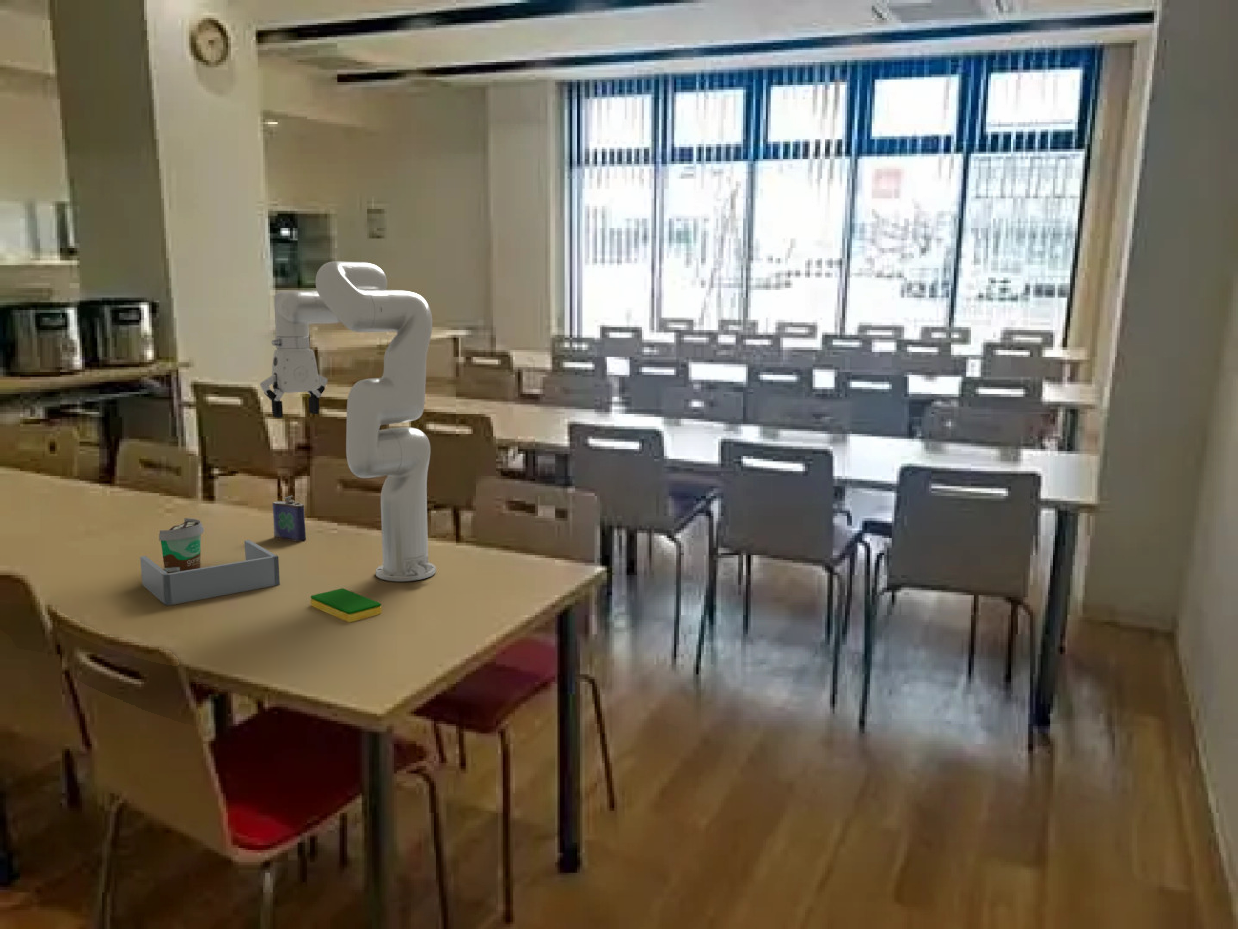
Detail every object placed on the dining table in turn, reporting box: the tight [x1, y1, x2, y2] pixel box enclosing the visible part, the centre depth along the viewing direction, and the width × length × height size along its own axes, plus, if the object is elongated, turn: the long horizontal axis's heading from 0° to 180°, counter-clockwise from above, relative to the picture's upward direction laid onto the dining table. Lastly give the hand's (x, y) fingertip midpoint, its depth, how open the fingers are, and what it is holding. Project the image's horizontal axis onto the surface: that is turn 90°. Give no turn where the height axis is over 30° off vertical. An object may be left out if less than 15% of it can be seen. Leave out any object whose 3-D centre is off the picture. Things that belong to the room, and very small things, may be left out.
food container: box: [158, 517, 205, 573], centre depth 208 cm, size 12×6×10 cm, turn 179°
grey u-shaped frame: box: [139, 539, 281, 607], centre depth 198 cm, size 17×22×6 cm
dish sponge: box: [310, 587, 382, 623], centre depth 184 cm, size 7×14×2 cm, turn 47°
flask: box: [272, 495, 307, 543], centre depth 234 cm, size 9×3×11 cm, turn 65°
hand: (296, 415), depth 233 cm, fingers open, 9 cm apart
